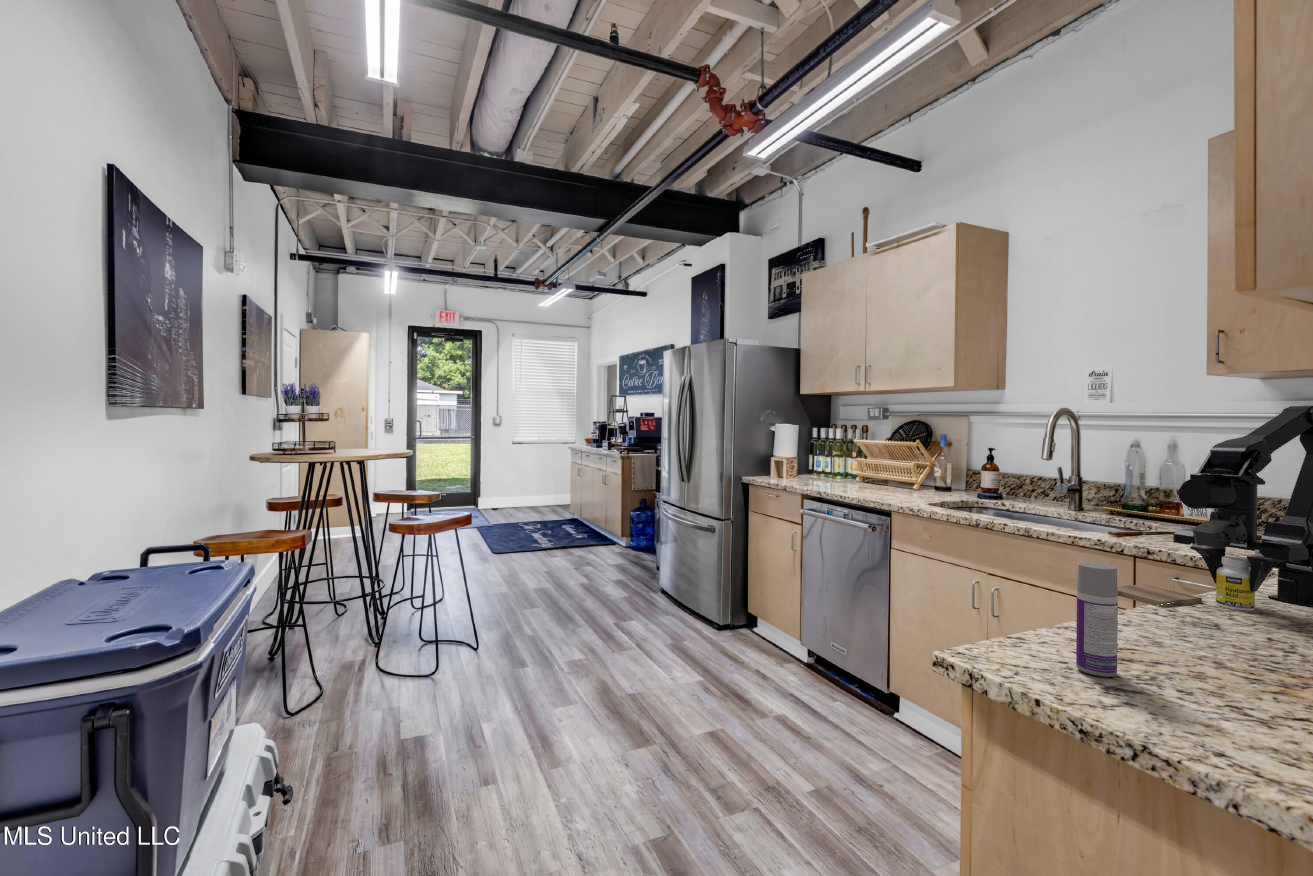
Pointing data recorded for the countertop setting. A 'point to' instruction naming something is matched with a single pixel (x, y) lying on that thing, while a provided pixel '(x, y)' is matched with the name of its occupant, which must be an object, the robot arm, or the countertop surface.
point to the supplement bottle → (1234, 584)
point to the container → (1097, 619)
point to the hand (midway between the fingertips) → (1235, 587)
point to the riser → (1156, 595)
